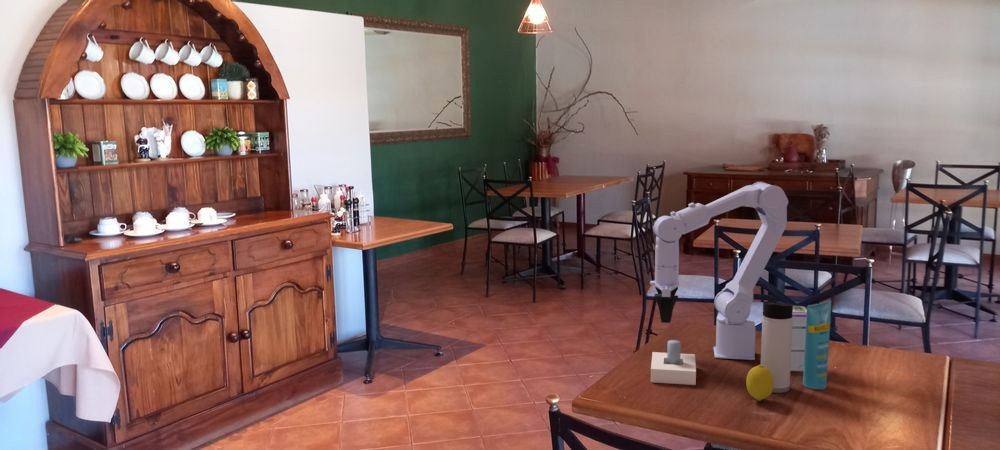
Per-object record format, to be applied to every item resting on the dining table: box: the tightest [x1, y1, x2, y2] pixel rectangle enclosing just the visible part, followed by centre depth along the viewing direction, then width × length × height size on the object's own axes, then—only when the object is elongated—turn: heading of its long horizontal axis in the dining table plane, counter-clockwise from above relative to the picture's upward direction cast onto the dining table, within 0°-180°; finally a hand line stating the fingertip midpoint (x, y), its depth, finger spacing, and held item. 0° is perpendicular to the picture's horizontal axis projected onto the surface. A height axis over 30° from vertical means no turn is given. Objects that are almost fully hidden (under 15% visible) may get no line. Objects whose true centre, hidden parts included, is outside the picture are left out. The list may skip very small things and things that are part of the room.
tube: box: [802, 300, 832, 390], centre depth 169 cm, size 7×5×19 cm, turn 123°
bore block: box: [650, 351, 697, 386], centre depth 179 cm, size 10×12×3 cm
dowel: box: [666, 339, 682, 365], centre depth 179 cm, size 3×3×7 cm
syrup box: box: [790, 305, 807, 372], centre depth 182 cm, size 6×6×14 cm
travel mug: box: [760, 301, 794, 394], centre depth 168 cm, size 6×7×20 cm
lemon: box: [745, 364, 774, 402], centre depth 163 cm, size 6×6×8 cm
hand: (666, 318), depth 191 cm, fingers open, 7 cm apart
